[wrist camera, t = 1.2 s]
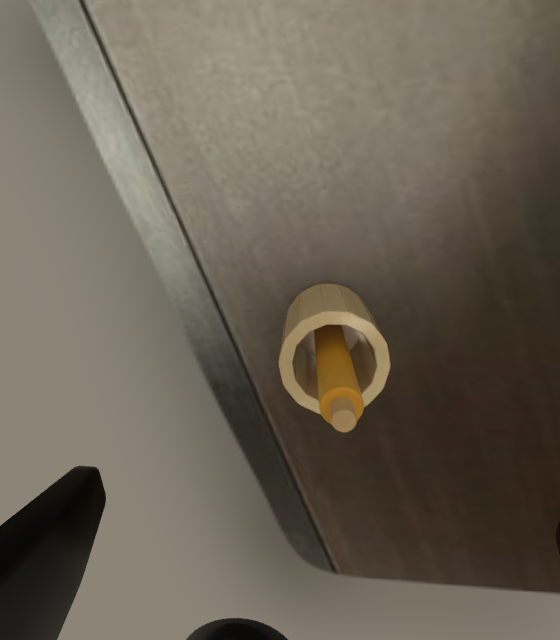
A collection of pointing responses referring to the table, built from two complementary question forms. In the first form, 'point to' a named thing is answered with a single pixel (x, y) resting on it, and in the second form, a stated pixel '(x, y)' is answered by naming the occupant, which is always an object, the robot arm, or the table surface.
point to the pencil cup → (360, 334)
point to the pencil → (336, 379)
